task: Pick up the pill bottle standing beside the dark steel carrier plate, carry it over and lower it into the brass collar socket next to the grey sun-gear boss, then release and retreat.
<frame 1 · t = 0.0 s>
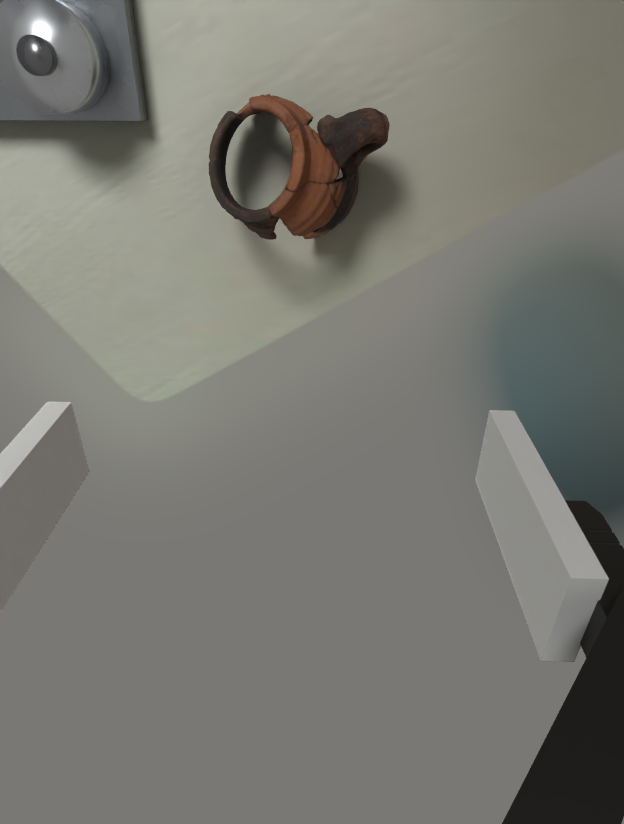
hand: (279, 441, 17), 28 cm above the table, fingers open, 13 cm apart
pottery mug: (305, 161, 39), on the table
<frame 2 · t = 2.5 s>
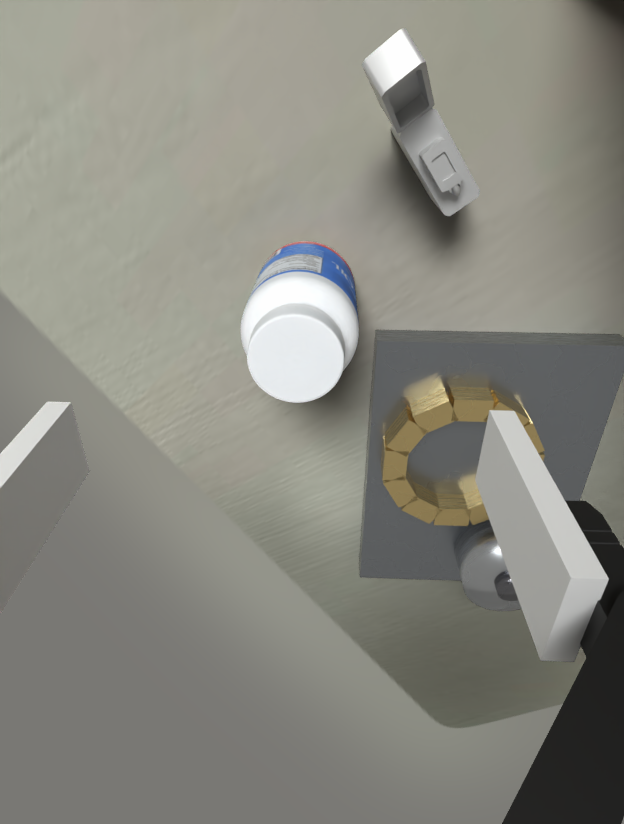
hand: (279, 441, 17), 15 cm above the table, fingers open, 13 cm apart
carrier plate: (470, 463, 36), on the table
lighter: (410, 125, 26), on the table
pill bottle: (306, 285, 30), on the table
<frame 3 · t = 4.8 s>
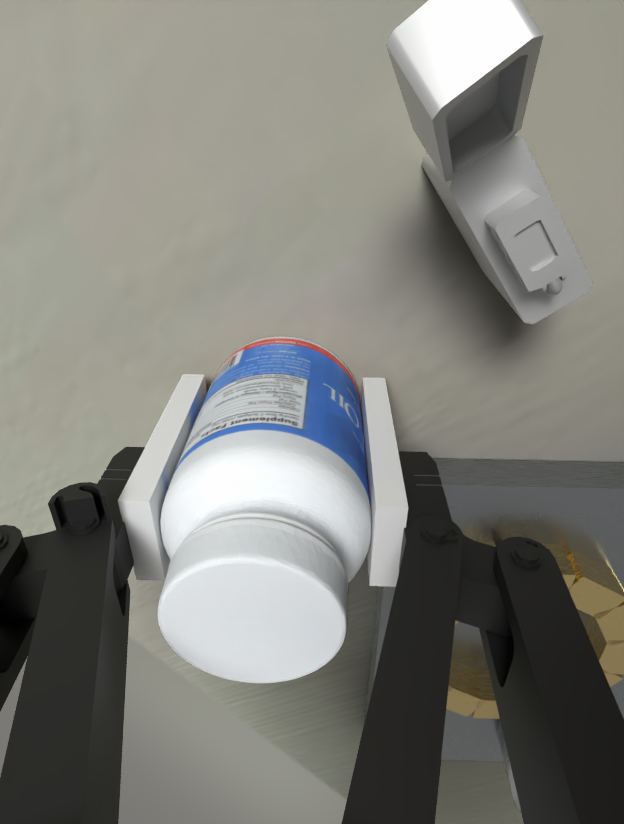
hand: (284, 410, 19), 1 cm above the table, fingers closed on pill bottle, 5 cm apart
carrier plate: (522, 622, 25), on the table
lighter: (454, 157, 15), on the table
pill bottle: (286, 396, 20), on the table, touching gripper
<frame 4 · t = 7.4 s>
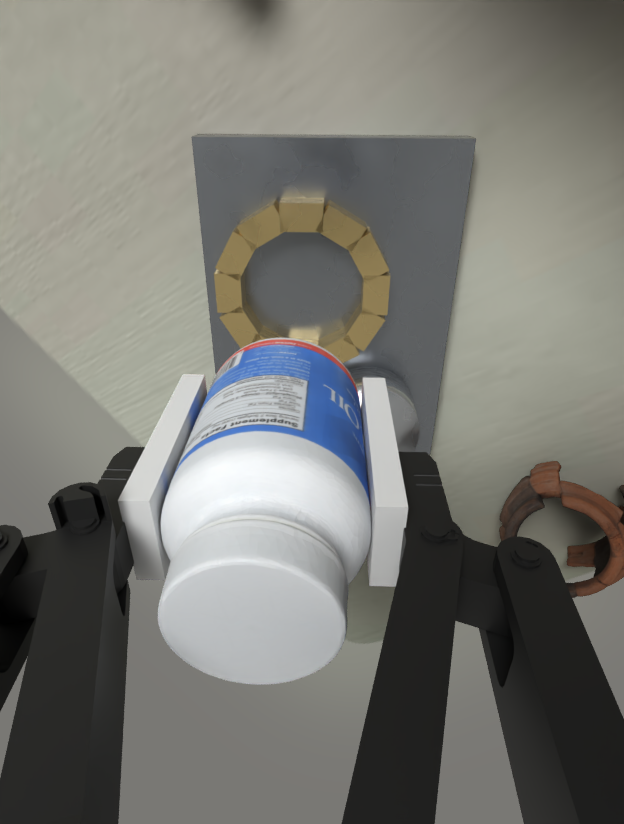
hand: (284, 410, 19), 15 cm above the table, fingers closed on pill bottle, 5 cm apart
carrier plate: (329, 309, 33), on the table
pottery mug: (572, 497, 40), on the table
pill bottle: (286, 397, 20), point 14 cm above the table, touching gripper
when the fingers open (4 cm above the table, at t = 10.0 s): pill bottle drops 1 cm, resting on carrier plate.
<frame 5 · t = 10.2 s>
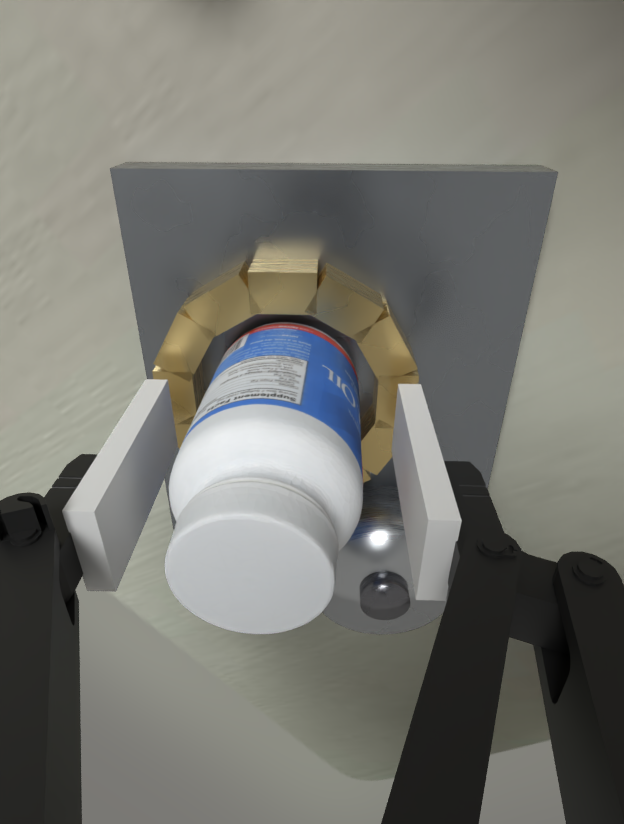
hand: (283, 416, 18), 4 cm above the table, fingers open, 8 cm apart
carrier plate: (326, 405, 23), on the table
pill bottle: (289, 379, 21), point 1 cm above the table, touching carrier plate
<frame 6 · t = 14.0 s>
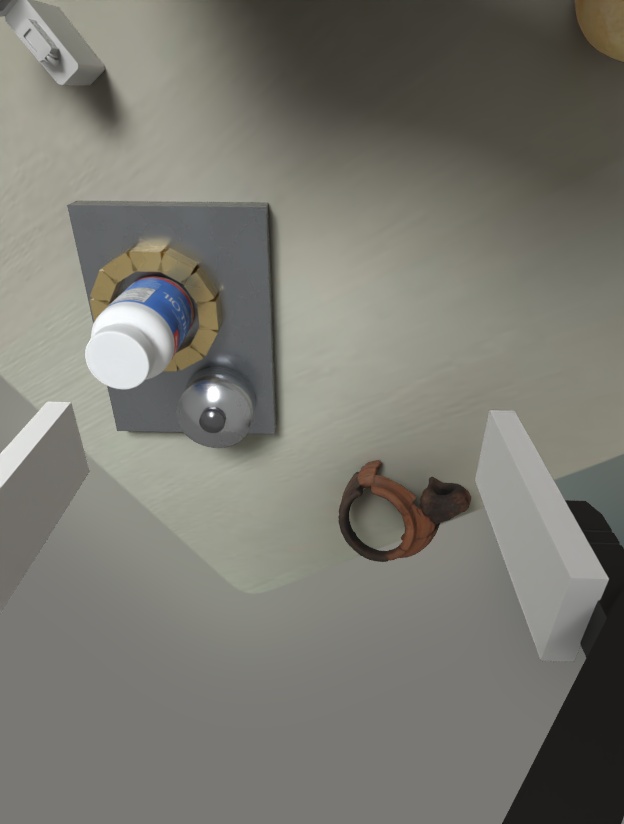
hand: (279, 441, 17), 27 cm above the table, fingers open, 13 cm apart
carrier plate: (187, 324, 44), on the table
lighter: (56, 24, 34), on the table
pottery mug: (401, 487, 52), on the table
pill bottle: (161, 307, 42), point 1 cm above the table, touching carrier plate
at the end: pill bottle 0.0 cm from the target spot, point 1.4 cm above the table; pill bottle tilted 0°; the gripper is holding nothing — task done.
